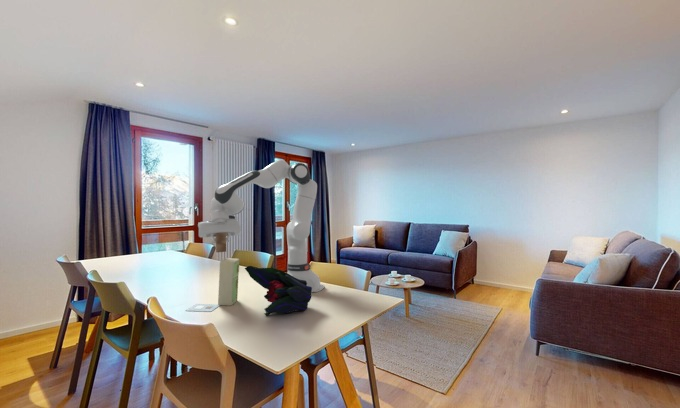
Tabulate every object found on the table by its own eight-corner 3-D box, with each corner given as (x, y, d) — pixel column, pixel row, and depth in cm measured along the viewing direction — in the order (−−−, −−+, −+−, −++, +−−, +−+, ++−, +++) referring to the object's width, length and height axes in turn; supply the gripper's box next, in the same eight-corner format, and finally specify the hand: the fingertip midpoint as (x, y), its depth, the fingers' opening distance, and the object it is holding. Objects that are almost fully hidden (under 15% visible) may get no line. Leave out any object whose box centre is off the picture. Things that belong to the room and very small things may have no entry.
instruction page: (220, 305, 142) (220, 304, 142) (211, 311, 133) (211, 311, 133) (196, 304, 143) (196, 303, 143) (185, 310, 134) (185, 310, 134)
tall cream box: (233, 305, 141) (234, 261, 141) (217, 305, 141) (219, 261, 141) (239, 300, 149) (240, 258, 149) (224, 299, 149) (226, 258, 149)
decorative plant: (303, 335, 130) (233, 327, 120) (296, 296, 153) (237, 286, 142) (320, 298, 125) (248, 286, 114) (310, 263, 148) (250, 250, 137)
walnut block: (225, 250, 151) (225, 232, 151) (226, 251, 147) (225, 233, 147) (216, 251, 149) (215, 233, 149) (216, 252, 145) (216, 234, 145)
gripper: (197, 217, 150) (197, 239, 141) (240, 216, 159) (242, 236, 150) (197, 225, 154) (198, 247, 145) (239, 224, 163) (241, 244, 154)
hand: (221, 241), depth 148 cm, fingers closed on walnut block, 4 cm apart
